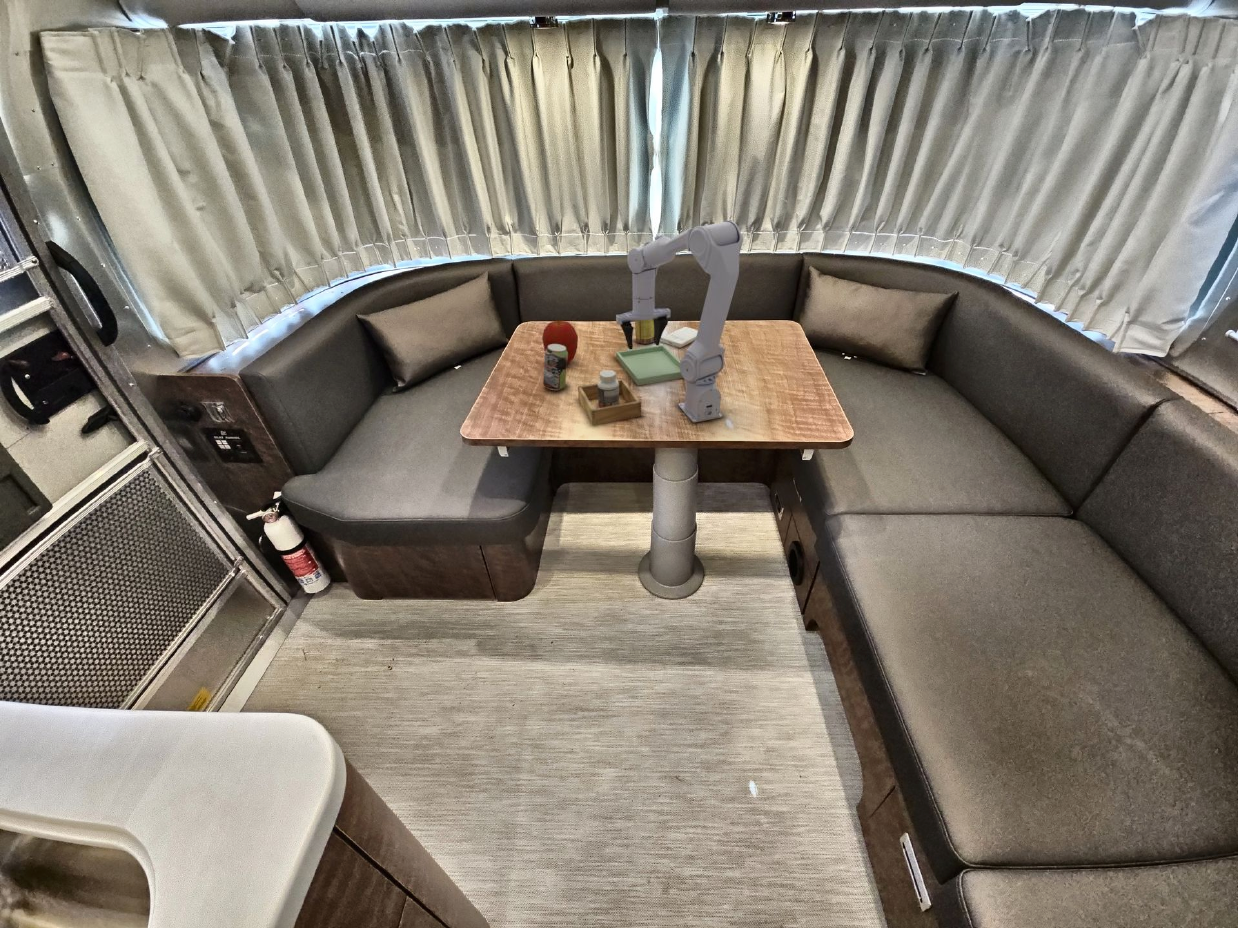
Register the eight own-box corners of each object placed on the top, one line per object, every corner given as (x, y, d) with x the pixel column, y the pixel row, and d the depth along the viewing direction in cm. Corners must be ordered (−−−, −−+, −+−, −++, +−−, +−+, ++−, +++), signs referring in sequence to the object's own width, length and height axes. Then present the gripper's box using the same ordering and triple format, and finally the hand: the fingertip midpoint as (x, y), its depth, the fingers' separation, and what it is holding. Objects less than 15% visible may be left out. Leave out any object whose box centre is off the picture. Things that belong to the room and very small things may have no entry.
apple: (546, 372, 155) (541, 326, 147) (543, 358, 163) (538, 313, 155) (581, 368, 156) (578, 322, 148) (577, 354, 164) (574, 310, 156)
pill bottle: (596, 404, 138) (594, 369, 133) (616, 401, 139) (615, 367, 134) (601, 414, 134) (599, 379, 128) (621, 411, 135) (621, 376, 129)
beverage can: (541, 384, 148) (536, 344, 141) (566, 380, 150) (563, 340, 143) (547, 394, 143) (542, 353, 136) (573, 389, 145) (570, 348, 138)
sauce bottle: (658, 339, 173) (659, 277, 161) (648, 346, 168) (649, 283, 157) (640, 336, 176) (640, 274, 164) (630, 342, 171) (630, 280, 160)
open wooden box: (641, 416, 133) (641, 402, 131) (592, 425, 130) (591, 410, 128) (623, 392, 143) (623, 378, 141) (578, 400, 140) (577, 386, 138)
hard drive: (704, 337, 174) (680, 348, 167) (684, 330, 179) (660, 341, 171) (704, 332, 173) (680, 343, 166) (684, 326, 178) (660, 336, 170)
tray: (689, 376, 150) (689, 370, 149) (637, 385, 147) (637, 379, 145) (663, 350, 166) (663, 344, 164) (615, 358, 162) (615, 351, 161)
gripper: (664, 288, 141) (662, 337, 149) (612, 294, 138) (613, 344, 146) (674, 296, 136) (672, 346, 144) (620, 303, 132) (621, 354, 140)
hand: (643, 346), depth 144 cm, fingers open, 7 cm apart
